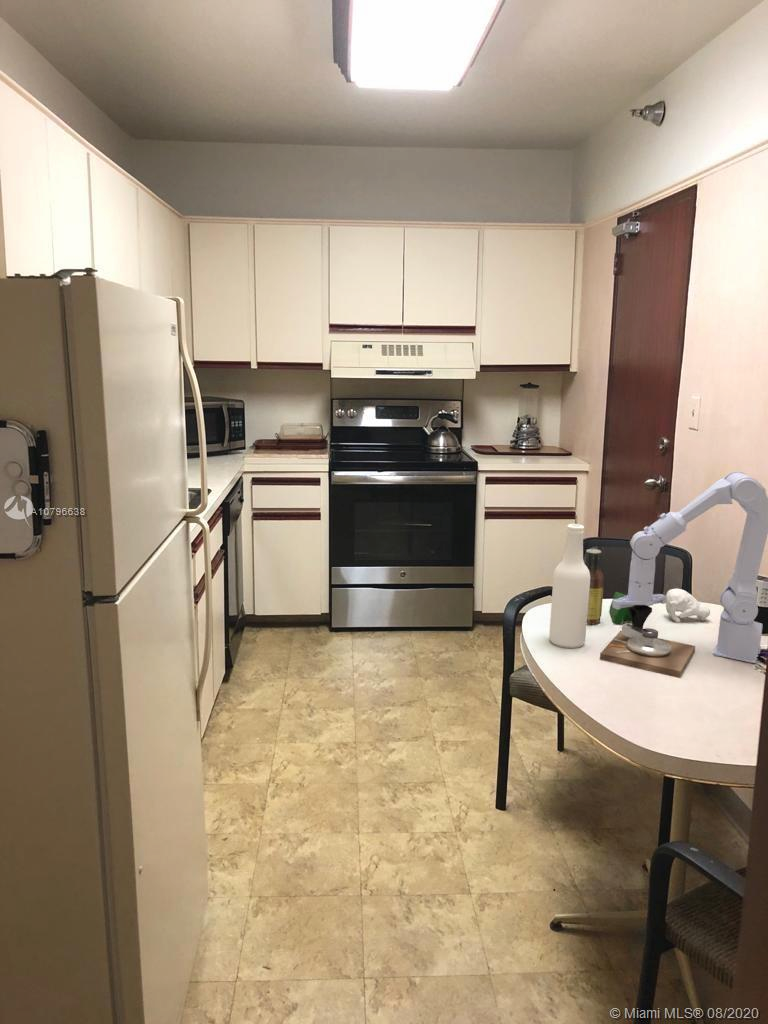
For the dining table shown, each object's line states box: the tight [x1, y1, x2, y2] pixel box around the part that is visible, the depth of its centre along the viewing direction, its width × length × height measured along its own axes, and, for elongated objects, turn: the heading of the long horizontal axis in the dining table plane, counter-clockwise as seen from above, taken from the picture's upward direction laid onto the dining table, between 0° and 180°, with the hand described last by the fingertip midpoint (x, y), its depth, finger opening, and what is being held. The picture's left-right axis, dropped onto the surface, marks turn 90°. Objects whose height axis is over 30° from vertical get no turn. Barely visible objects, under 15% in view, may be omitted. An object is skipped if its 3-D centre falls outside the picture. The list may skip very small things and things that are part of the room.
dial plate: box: [599, 630, 696, 678], centre depth 180 cm, size 18×18×2 cm
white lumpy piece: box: [665, 588, 711, 623], centre depth 204 cm, size 6×8×12 cm
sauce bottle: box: [584, 548, 605, 625], centre depth 200 cm, size 7×6×20 cm
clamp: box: [609, 591, 632, 625], centre depth 204 cm, size 12×6×9 cm, turn 163°
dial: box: [621, 622, 671, 657], centre depth 180 cm, size 13×10×4 cm
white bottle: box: [548, 523, 590, 649], centre depth 184 cm, size 9×9×30 cm
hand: (636, 633), depth 185 cm, fingers closed, pressing on dial
